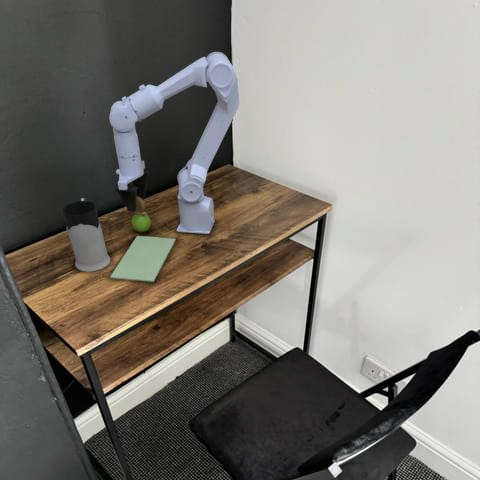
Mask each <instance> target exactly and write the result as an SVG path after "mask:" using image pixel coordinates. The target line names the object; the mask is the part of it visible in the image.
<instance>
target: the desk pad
mask: <svg viewBox="0 0 480 480" xmlns="http://www.w3.org/2000/svg"><path fill="white" fill-rule="evenodd" d="M176 240H177V239H176V238H173V237H172V238H170V237H157V236H143V235H137V236H135V239H134V240H133V241H132V242H131V244H130V246H129V247H128V249H127V251H126V252H125V253H124V255H123V257H122V258H121V260H120V261H119V263H118V264H117V266H116V267H115V269H114V270H113V272H112V273H111V274H110V276H109V278H110V279H116V280H126V281H135V282H136V281H137V282H149V283H154V282H155V281H156V278H157V277H158V275H159V273H160V271H161V269H162V267H163V266H164V263H165V261H166V260H167V258H168V256H169V254H170V252H171V250H172V249H173V246H174V244H175V243H176Z"/></svg>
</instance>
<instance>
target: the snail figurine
mask: <svg viewBox="0 0 480 480" xmlns="http://www.w3.org/2000/svg"><path fill="white" fill-rule="evenodd" d="M145 210H146V204H145V201H144V199H142V198H140V197H137V196H136V211H134V215H132V217H131V219H130V224H131V226H132V229H133V230H134V231H135V232H138V233H146V232H147V231H149V230H150V228H151V227H152V219H151V218H150V216H149V214H147V212H146V211H145Z"/></svg>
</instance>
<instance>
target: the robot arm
mask: <svg viewBox="0 0 480 480" xmlns="http://www.w3.org/2000/svg"><path fill="white" fill-rule="evenodd" d="M207 83H208V84H209V85H210V87H211V88H212V89H213V91H214V93H215V97H216V99H217V102H216V104H215V107H214V109H213V110H212V112H211V115H210V118H209V120H208V121H207V124H206V125H205V129H204V131H203V133H202V135H201V137H200V139H199V141H198V143H197V145H196V148H195V150H194V151H193V154H192V156H191V158H190V159H189V160H188V161H187V162H186V165H185V166H184V167H183V168H182V169H180V171H178V174H177V179H176V180H177V183H178V194H177V203H178V204H177V205H178V212H179V224H178V226H177V228H176V233H186V234H187V233H189V234H202V235H210V234H211V232H212V228H213V226H214V224H215V221H216V220H215V206H214V205H215V204H214V199H213V198H212V197H208V196H206V195H205V194H204V186H205V184H206V180H207V173H208V170H209V168H210V166H211V164H212V163H213V160H214V158H215V156H216V154H217V152H218V150H219V148H220V146H221V144H222V141H223V140H224V137H225V136H226V134H227V131H228V130H229V128H230V126H231V123H232V121H233V119H234V117H235V116H236V113H237V111H238V110H239V107H240V95H239V78H238V75H237V73H236V70H235V68H234V66H233V65H232V63H231V62H230V60H229V58H228V57H227V55H226V54H224V53H223V52H220V51H214V52H211V53H209V54H208V55H207V56H202V57H200V58H198V59H197V60H195V61H194V62H193V63H190V64H189V65H188V66H187V67H184V68H183V69H181V70H179V71H178V72H176V74H174V75H173V76H171V77H169V78H168V79H167V80H165V81H163V82H162V83H160V84H159V85H153V84H147V85H145V84H141V85H140V86H138V90H137V91H135V92H134V93H132V94H130V95H129V96H126V95H125V96H123V97H121V100H118V101H115V102H113V104H112V106H111V108H110V112H109V115H108V116H109V117H108V118H109V124H110V125H111V127H112V133H113V140H114V147H115V151H116V157H117V163H118V169H116V170H115V174H116V175H119V176H118V181H117V184H116V185H115V186H114V188H115V192H116V193H117V194H118V196H119V197H120V198H121V199H122V201H123V203H124V205H125V207H126V210H127V211H128V212H135V211H136V197H140V198H141V199H142V200H145V199H146V194H147V184H148V179H149V176H150V174H151V173H150V170H148V169H146V166H145V160H142V157H141V151H140V143H139V137H138V133H137V131H136V123H137V122H141V121H143V120H145V119H147V118H148V117H150V116H151V115H153V114H155V113H157V112H158V111H160V110H162V109H163V106H164V102H165V101H166V100H168V99H170V98H172V97H173V96H175V95H177V94H179V93H181V92H183V91H185V90H187V89H189V88H190V87H192V86H198V87H202V88H207V87H208V85H207ZM131 183H132V184H131ZM132 185H133V186H132Z"/></svg>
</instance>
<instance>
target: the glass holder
mask: <svg viewBox="0 0 480 480" xmlns="http://www.w3.org/2000/svg"><path fill="white" fill-rule="evenodd" d="M62 213H63V217H64V221H65V224H66V230H67V234H68V238H69V241H70V244H71V245H70V246H71V248H72V251H73V255H74V259H75V268H76V269H78V270H79V271H82V272H95V271H100V270H102V269H104V268H106V267H107V266H108V265H109V264H110V263H111V258H110V256H109V254H108V250H107V247H106V242H105V238H104V233H103V229H102V224H101V222H100V219H99V215H98V211H97V207H96V204H95V203H94V202H93V201H89V200H86V198H85V197H82V198H80V200H78V201H77V200H76V201H73V202H70V203H68V204H66V205H64V207H62Z"/></svg>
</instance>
